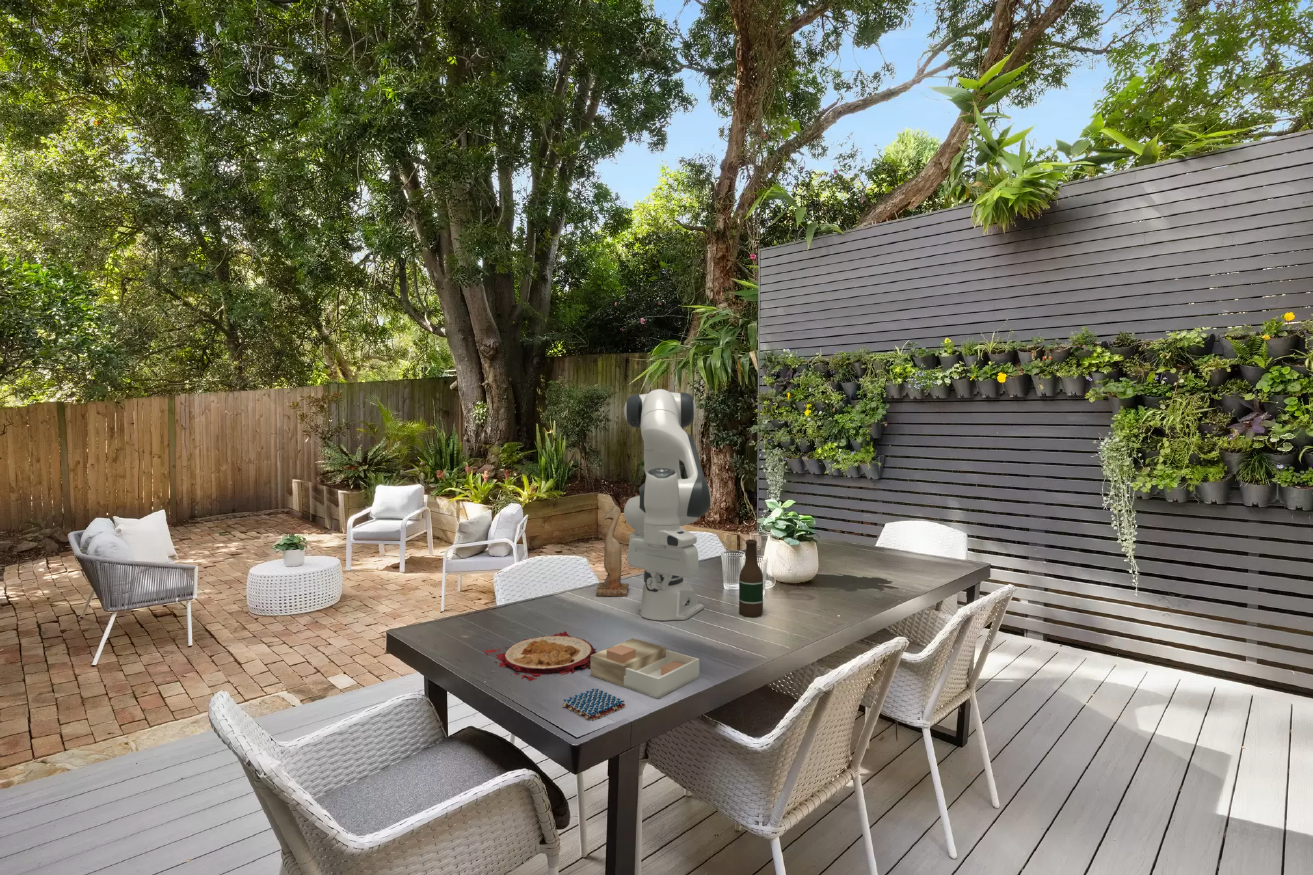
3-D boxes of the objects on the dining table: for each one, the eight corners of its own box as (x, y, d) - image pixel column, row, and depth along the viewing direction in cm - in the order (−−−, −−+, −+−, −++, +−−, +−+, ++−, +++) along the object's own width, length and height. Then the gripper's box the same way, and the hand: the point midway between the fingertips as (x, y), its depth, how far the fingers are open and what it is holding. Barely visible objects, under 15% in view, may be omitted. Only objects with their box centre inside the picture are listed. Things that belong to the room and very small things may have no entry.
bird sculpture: (597, 588, 244) (596, 502, 243) (628, 588, 245) (628, 502, 244) (596, 597, 233) (595, 507, 232) (629, 596, 234) (629, 506, 233)
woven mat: (591, 724, 139) (590, 715, 139) (560, 708, 147) (560, 699, 146) (628, 709, 146) (628, 699, 146) (597, 694, 154) (597, 685, 154)
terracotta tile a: (689, 665, 163) (689, 673, 163) (673, 660, 166) (673, 668, 166) (677, 671, 159) (677, 680, 159) (660, 666, 162) (660, 674, 163)
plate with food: (566, 638, 194) (565, 626, 193) (612, 664, 172) (611, 650, 171) (483, 656, 180) (483, 643, 180) (522, 687, 158) (522, 673, 158)
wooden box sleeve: (633, 656, 176) (633, 638, 176) (665, 666, 169) (665, 647, 169) (590, 675, 164) (590, 655, 164) (623, 686, 157) (623, 665, 157)
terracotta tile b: (620, 652, 166) (620, 644, 165) (635, 657, 162) (635, 649, 162) (606, 658, 162) (606, 650, 162) (621, 663, 159) (621, 654, 158)
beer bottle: (767, 613, 214) (768, 539, 213) (754, 619, 208) (754, 543, 207) (747, 609, 219) (748, 536, 218) (734, 614, 213) (734, 540, 212)
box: (665, 666, 169) (665, 649, 169) (699, 676, 163) (699, 658, 163) (623, 686, 157) (623, 667, 157) (658, 698, 150) (658, 679, 150)
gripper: (621, 531, 169) (621, 585, 169) (686, 541, 156) (686, 599, 156) (638, 527, 173) (638, 580, 174) (702, 537, 161) (702, 594, 161)
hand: (661, 589), depth 165 cm, fingers closed
